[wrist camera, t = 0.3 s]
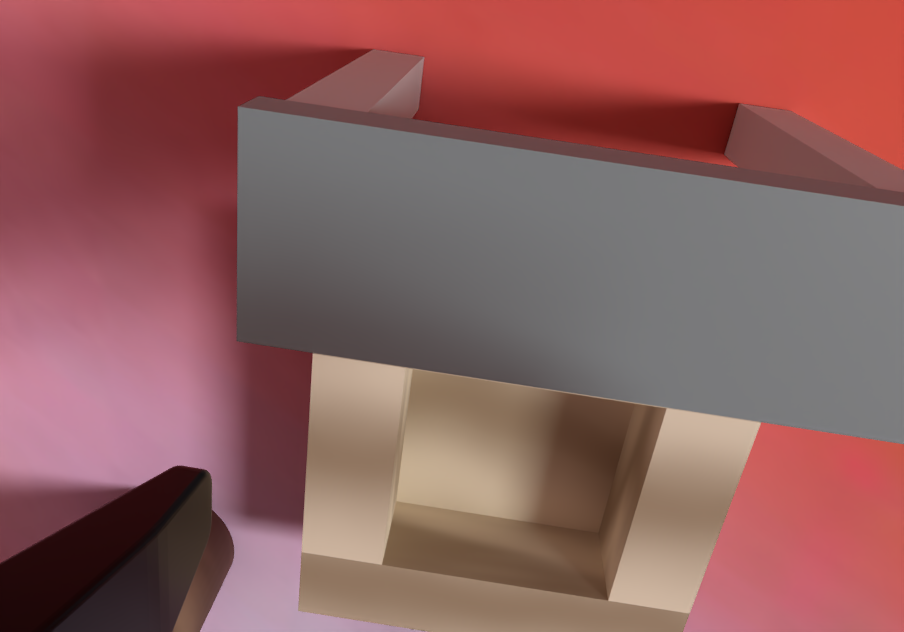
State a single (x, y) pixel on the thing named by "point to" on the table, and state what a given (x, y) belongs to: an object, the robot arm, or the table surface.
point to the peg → (207, 578)
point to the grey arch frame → (576, 256)
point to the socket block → (507, 503)
